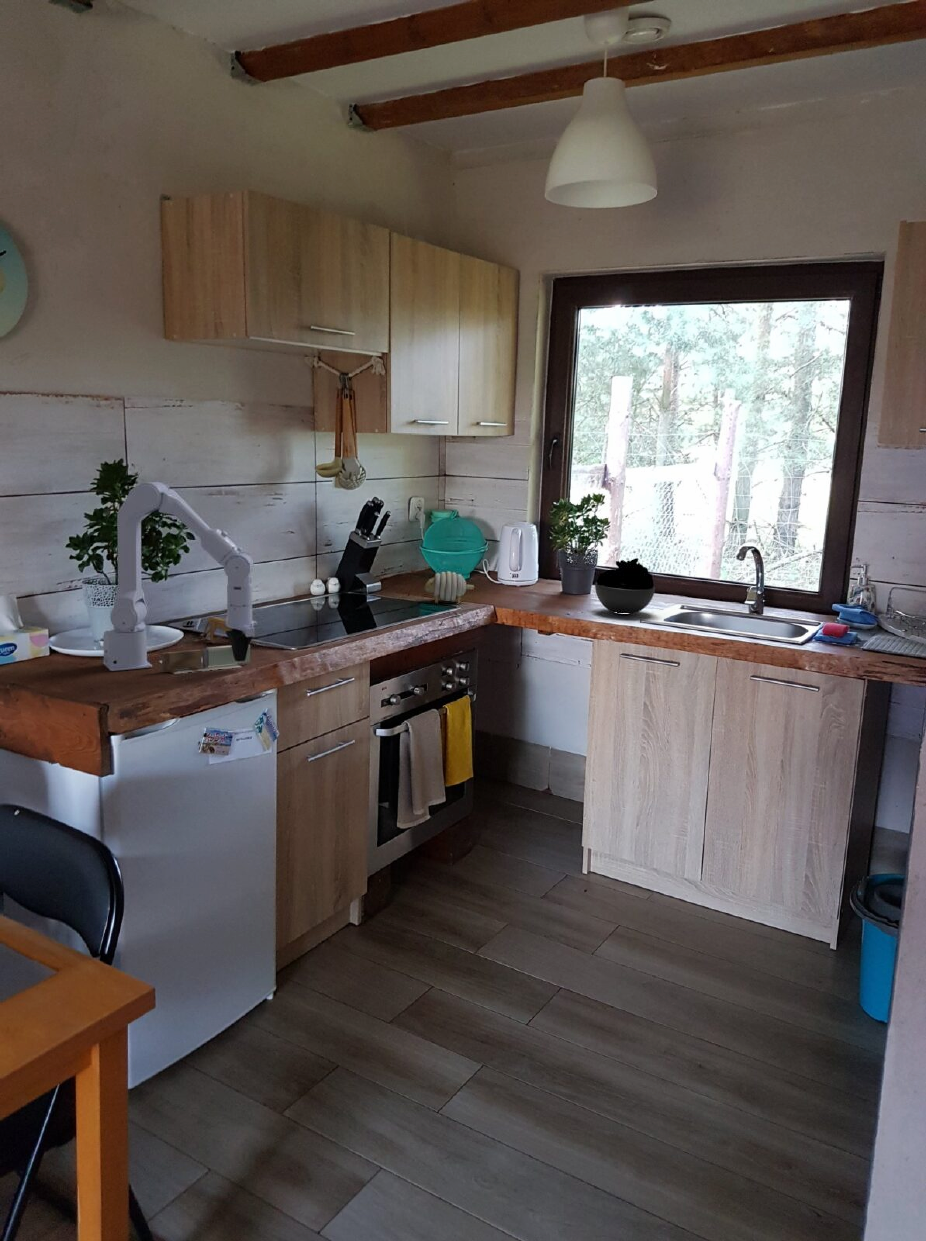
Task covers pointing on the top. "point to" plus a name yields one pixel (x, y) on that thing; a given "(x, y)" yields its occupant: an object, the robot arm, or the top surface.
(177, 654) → the brown wooden block
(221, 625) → the lion figurine
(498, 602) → the top surface
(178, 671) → the card
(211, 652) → the pale green long block
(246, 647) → the robot arm
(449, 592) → the toy sheep
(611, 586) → the bowl of black rocks
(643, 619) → the top surface
